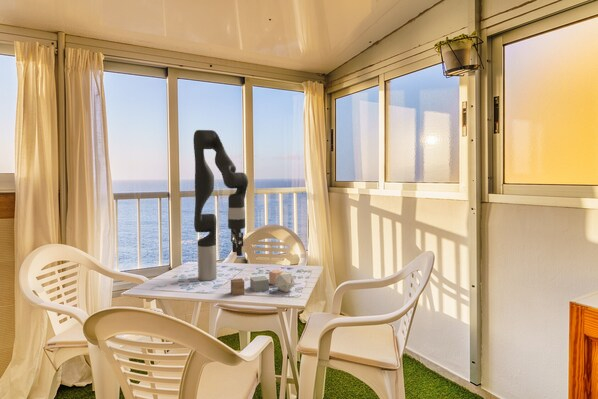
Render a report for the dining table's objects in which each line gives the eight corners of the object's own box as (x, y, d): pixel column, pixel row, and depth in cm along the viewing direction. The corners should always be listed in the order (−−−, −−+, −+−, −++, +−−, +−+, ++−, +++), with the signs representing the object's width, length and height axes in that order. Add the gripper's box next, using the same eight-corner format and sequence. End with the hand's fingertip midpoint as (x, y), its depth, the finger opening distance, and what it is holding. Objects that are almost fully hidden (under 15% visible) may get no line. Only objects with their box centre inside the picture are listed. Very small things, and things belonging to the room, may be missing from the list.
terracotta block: (269, 283, 180) (269, 271, 180) (277, 281, 184) (277, 269, 183) (275, 285, 177) (275, 273, 176) (283, 283, 180) (283, 271, 180)
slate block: (250, 287, 174) (250, 277, 173) (264, 286, 176) (264, 275, 176) (254, 292, 167) (254, 281, 167) (268, 290, 170) (268, 279, 170)
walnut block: (230, 292, 166) (230, 279, 166) (241, 291, 168) (241, 278, 168) (233, 295, 162) (233, 282, 161) (244, 294, 164) (244, 281, 163)
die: (276, 295, 164) (290, 278, 162) (267, 282, 170) (280, 265, 168) (289, 298, 170) (302, 281, 168) (279, 284, 176) (292, 268, 174)
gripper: (225, 216, 168) (225, 251, 169) (231, 219, 155) (231, 257, 156) (241, 215, 171) (241, 250, 172) (248, 218, 158) (249, 256, 159)
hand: (237, 253), depth 164 cm, fingers open, 8 cm apart
